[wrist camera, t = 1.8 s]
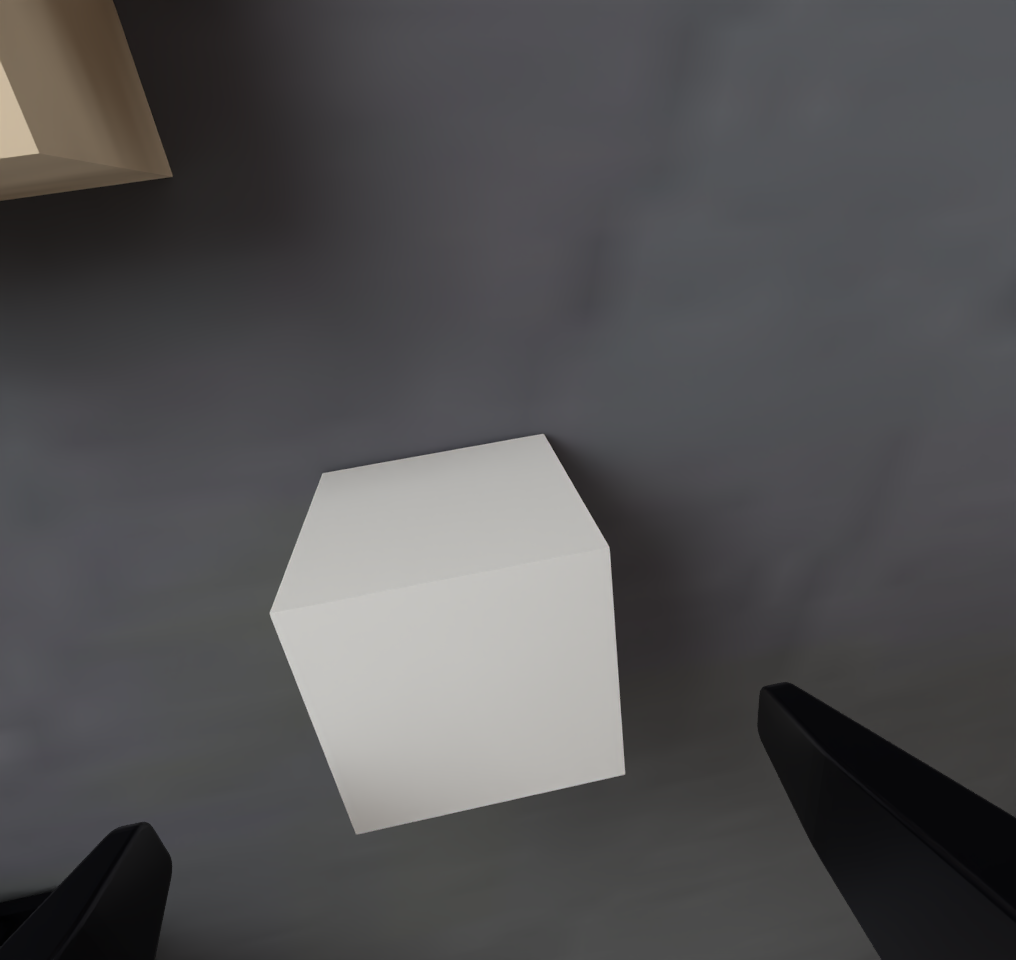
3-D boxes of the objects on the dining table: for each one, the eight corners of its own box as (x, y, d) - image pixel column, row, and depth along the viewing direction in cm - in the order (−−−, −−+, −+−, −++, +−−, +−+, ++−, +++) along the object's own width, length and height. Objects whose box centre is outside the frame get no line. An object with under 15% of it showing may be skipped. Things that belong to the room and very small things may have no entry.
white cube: (563, 609, 15) (625, 775, 11) (375, 647, 15) (356, 835, 10) (543, 433, 13) (609, 547, 9) (322, 473, 13) (269, 613, 8)
